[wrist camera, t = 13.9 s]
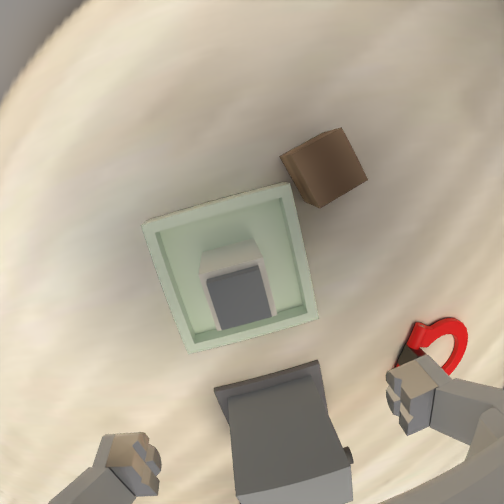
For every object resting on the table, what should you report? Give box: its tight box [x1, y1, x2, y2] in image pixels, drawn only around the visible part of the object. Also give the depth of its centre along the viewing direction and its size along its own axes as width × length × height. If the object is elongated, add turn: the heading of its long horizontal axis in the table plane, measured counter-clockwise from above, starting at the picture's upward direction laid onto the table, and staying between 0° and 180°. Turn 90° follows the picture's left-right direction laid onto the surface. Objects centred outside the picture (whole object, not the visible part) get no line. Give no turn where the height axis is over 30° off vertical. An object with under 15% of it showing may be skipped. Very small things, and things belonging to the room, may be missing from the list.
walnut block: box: [279, 127, 368, 208], centre depth 22 cm, size 4×4×4 cm
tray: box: [141, 182, 319, 354], centre depth 25 cm, size 11×11×2 cm
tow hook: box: [396, 318, 468, 375], centre depth 24 cm, size 9×14×10 cm
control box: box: [214, 360, 353, 504], centre depth 24 cm, size 10×8×12 cm
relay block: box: [198, 238, 277, 331], centre depth 22 cm, size 4×4×6 cm
